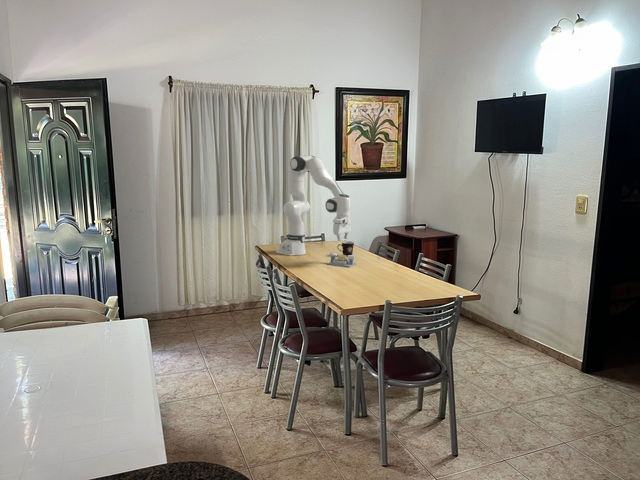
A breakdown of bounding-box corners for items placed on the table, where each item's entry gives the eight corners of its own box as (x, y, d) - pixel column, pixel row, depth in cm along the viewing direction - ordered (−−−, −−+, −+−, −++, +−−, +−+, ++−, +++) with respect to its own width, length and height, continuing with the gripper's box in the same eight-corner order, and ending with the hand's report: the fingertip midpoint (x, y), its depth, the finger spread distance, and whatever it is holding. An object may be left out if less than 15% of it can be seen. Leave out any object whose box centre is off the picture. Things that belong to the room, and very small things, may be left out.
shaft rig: (326, 264, 330) (326, 254, 329) (333, 261, 340) (334, 251, 338) (350, 267, 321) (351, 257, 320) (357, 264, 331) (358, 254, 330)
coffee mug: (353, 254, 361) (354, 241, 360) (353, 257, 353) (353, 243, 351) (337, 254, 363) (338, 240, 361) (337, 256, 354) (337, 243, 352)
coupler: (337, 263, 330) (337, 255, 329) (340, 261, 333) (340, 254, 333) (343, 263, 327) (343, 256, 327) (346, 262, 331) (346, 255, 330)
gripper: (346, 216, 337) (345, 236, 340) (331, 220, 319) (331, 241, 322) (354, 217, 334) (353, 238, 337) (340, 221, 316) (339, 242, 319)
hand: (342, 239), depth 329 cm, fingers open, 8 cm apart
